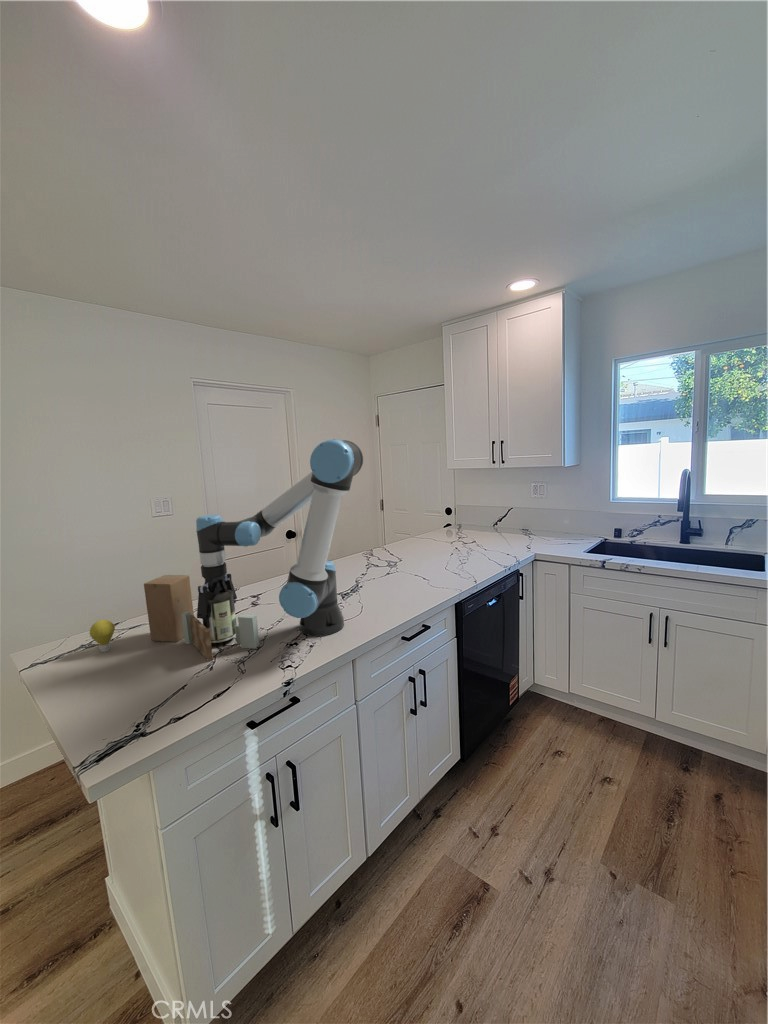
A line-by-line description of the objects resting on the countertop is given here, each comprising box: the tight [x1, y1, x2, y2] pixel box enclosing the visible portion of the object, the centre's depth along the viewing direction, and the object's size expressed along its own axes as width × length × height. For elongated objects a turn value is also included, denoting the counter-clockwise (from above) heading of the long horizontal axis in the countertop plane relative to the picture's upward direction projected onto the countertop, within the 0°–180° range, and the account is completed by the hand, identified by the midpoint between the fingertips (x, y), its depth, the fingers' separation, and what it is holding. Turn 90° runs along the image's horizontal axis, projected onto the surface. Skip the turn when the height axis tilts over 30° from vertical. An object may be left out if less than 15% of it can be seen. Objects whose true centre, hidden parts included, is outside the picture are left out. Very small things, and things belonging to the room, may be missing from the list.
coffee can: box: [206, 590, 237, 644], centre depth 137 cm, size 10×10×14 cm
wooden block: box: [143, 574, 195, 643], centre depth 142 cm, size 10×10×20 cm
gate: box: [189, 614, 214, 662], centre depth 130 cm, size 18×1×9 cm, turn 39°
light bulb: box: [89, 619, 116, 653], centre depth 134 cm, size 7×7×10 cm
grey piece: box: [181, 612, 260, 649], centre depth 134 cm, size 26×3×10 cm, turn 77°
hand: (220, 629), depth 137 cm, fingers closed on coffee can, 10 cm apart
